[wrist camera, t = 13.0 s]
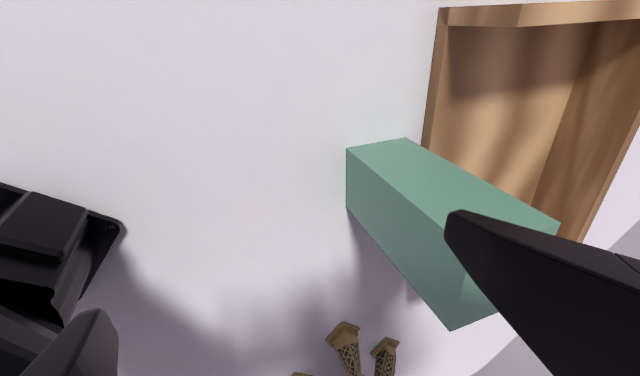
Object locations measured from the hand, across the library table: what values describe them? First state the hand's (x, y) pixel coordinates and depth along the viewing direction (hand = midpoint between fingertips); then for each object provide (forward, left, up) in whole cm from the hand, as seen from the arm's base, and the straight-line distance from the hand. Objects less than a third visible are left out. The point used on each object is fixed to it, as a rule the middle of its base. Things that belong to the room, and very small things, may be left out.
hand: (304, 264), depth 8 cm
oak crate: (+9, -20, -13) cm, 25 cm away
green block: (+2, -11, -13) cm, 17 cm away
